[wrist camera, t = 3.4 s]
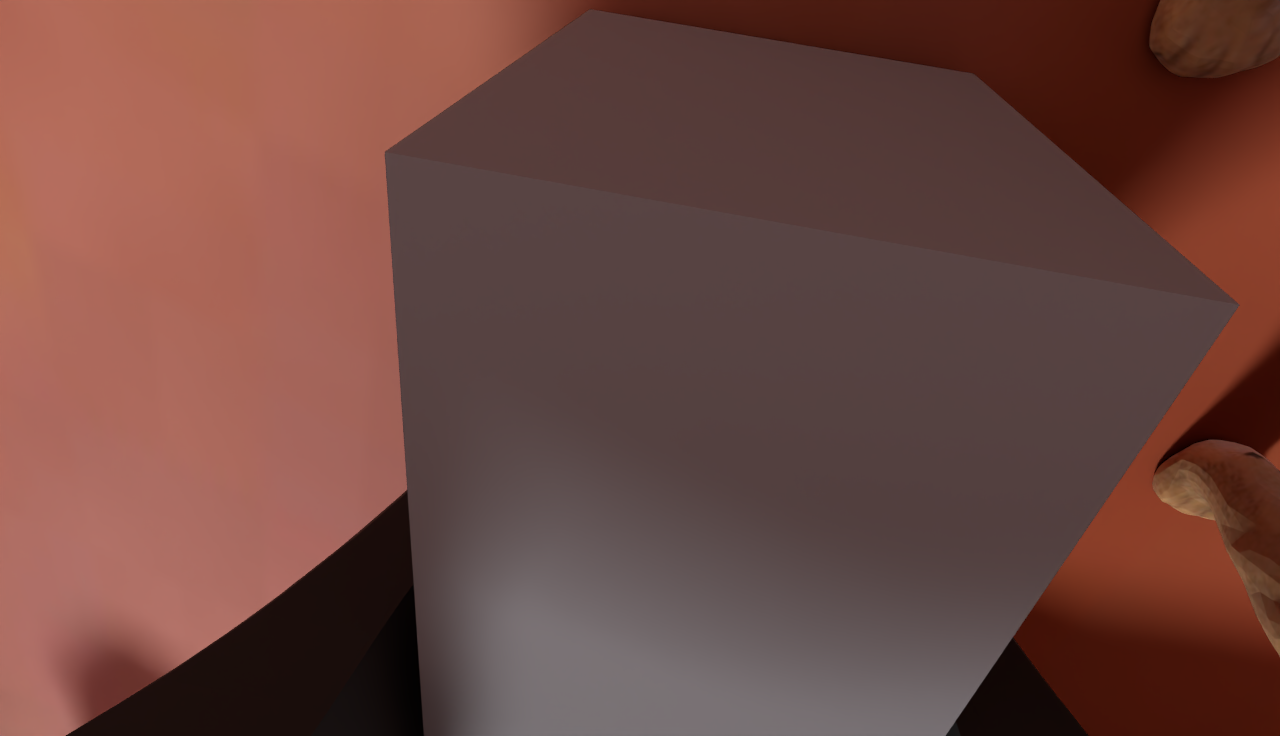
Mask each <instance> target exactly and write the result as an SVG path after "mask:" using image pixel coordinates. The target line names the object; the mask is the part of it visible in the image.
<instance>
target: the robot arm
mask: <svg viewBox="0 0 1280 736" xmlns="http://www.w3.org/2000/svg"><path fill="white" fill-rule="evenodd" d="M66 736H424V730H423V715H422V700H421V685H420V670H419V656H418V641H417V626H416V611H415V596H414V581H413V566H412V551H411V536H410V521H409V506H408V491H407V490H406V491H405V492H404V493H403V494H402V495H401V496H400V497H399V498H398V499H396V500H395V501H394V502H393V503H392V504H391V505H389V506H388V507H387V508H386V509H385V510H384V511H382V512H381V513H380V514H379V515H378V516H377V517H376V518H374V519H373V520H372V521H371V522H370V523H369V524H367V525H366V526H365V527H364V528H363V529H362V530H360V531H359V532H358V533H357V534H356V535H355V536H353V537H352V538H351V539H350V540H349V541H347V542H346V543H345V544H344V545H343V546H341V547H340V548H339V549H338V550H336V551H335V552H334V553H333V554H331V555H330V556H329V557H328V558H326V559H325V560H324V561H322V562H321V563H320V564H319V565H317V566H316V567H315V568H314V569H312V570H311V571H310V572H308V573H307V574H306V575H305V576H303V577H302V578H301V579H300V580H298V581H297V582H296V583H294V584H293V585H292V586H291V587H289V588H288V589H287V590H285V591H284V592H283V593H282V594H280V595H279V596H278V597H276V598H275V599H274V600H272V601H271V602H270V603H268V604H267V605H266V606H264V607H263V608H261V609H260V610H259V611H257V612H256V613H255V614H253V615H252V616H251V617H249V618H248V619H246V620H245V621H244V622H242V623H241V624H239V625H238V626H237V627H235V628H234V629H232V630H231V631H229V632H228V633H227V634H225V635H224V636H222V637H221V638H219V639H218V640H216V641H215V642H213V643H212V644H210V645H209V646H208V647H206V648H205V649H203V650H202V651H200V652H199V653H197V654H196V655H194V656H193V657H191V658H190V659H188V660H187V661H185V662H184V663H182V664H181V665H179V666H178V667H176V668H175V669H173V670H172V671H170V672H169V673H167V674H165V675H164V676H162V677H161V678H159V679H157V680H156V681H154V682H153V683H151V684H149V685H148V686H146V687H145V688H143V689H141V690H140V691H138V692H137V693H135V694H134V695H132V696H130V697H129V698H127V699H126V700H124V701H122V702H121V703H119V704H117V705H116V706H114V707H112V708H111V709H109V710H107V711H106V712H104V713H103V714H101V715H99V716H98V717H96V718H94V719H93V720H91V721H89V722H88V723H86V724H84V725H83V726H81V727H79V728H78V729H76V730H74V731H73V732H71V733H69V734H68V735H66ZM946 736H1088V734H1087V733H1086V732H1085V730H1084V729H1083V728H1082V727H1081V725H1080V724H1079V723H1078V722H1077V720H1076V719H1075V718H1074V717H1073V715H1072V714H1071V713H1070V712H1069V710H1068V709H1067V708H1066V707H1065V705H1064V704H1063V703H1062V702H1061V700H1060V699H1059V698H1058V697H1057V695H1056V694H1055V693H1054V691H1053V690H1052V689H1051V688H1050V686H1049V685H1048V684H1047V682H1046V681H1045V680H1044V678H1043V677H1042V676H1041V674H1040V673H1039V672H1038V670H1037V669H1036V668H1035V666H1034V665H1033V664H1032V663H1031V661H1030V660H1029V659H1028V657H1027V656H1026V654H1025V653H1024V652H1023V650H1022V649H1021V647H1020V646H1019V645H1018V643H1017V642H1016V641H1015V639H1014V638H1012V639H1011V641H1010V642H1009V643H1008V645H1007V646H1006V648H1005V649H1004V651H1003V652H1002V654H1001V655H1000V657H999V658H998V660H997V661H996V663H995V664H994V665H993V667H992V668H991V670H990V671H989V673H988V674H987V676H986V677H985V679H984V680H983V682H982V683H981V684H980V686H979V687H978V689H977V690H976V692H975V693H974V695H973V696H972V698H971V699H970V701H969V702H968V704H967V705H966V706H965V708H964V709H963V711H962V712H961V714H960V715H959V717H958V718H957V720H956V721H955V723H954V724H953V726H952V727H951V728H950V730H949V731H948V733H947V734H946Z"/></svg>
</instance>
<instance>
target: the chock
mask: <svg viewBox="0 0 1280 736" xmlns="http://www.w3.org/2000/svg"><path fill="white" fill-rule="evenodd" d="M385 163H386V178H387V193H388V208H389V223H390V238H391V253H392V268H393V283H394V298H395V313H396V327H397V342H398V357H399V372H400V387H401V402H402V417H403V432H404V447H405V462H406V477H407V491H408V506H409V521H410V536H411V551H412V566H413V581H414V596H415V611H416V626H417V641H418V656H419V670H420V685H421V700H422V715H423V730H424V736H946V734H947V733H948V731H949V730H950V728H951V727H952V726H953V724H954V723H955V721H956V720H957V718H958V717H959V715H960V714H961V712H962V711H963V709H964V708H965V706H966V705H967V704H968V702H969V701H970V699H971V698H972V696H973V695H974V693H975V692H976V690H977V689H978V687H979V686H980V684H981V683H982V682H983V680H984V679H985V677H986V676H987V674H988V673H989V671H990V670H991V668H992V667H993V665H994V664H995V663H996V661H997V660H998V658H999V657H1000V655H1001V654H1002V652H1003V651H1004V649H1005V648H1006V646H1007V645H1008V643H1009V642H1010V641H1011V639H1012V638H1013V636H1014V635H1015V633H1016V632H1017V630H1018V629H1019V627H1020V626H1021V624H1022V623H1023V621H1024V620H1025V619H1026V617H1027V616H1028V614H1029V613H1030V611H1031V610H1032V608H1033V607H1034V605H1035V604H1036V602H1037V601H1038V600H1039V598H1040V597H1041V595H1042V594H1043V592H1044V591H1045V589H1046V588H1047V586H1048V585H1049V583H1050V582H1051V580H1052V579H1053V578H1054V576H1055V575H1056V573H1057V572H1058V570H1059V569H1060V567H1061V566H1062V564H1063V563H1064V561H1065V560H1066V558H1067V557H1068V556H1069V554H1070V553H1071V551H1072V550H1073V548H1074V547H1075V545H1076V544H1077V542H1078V541H1079V539H1080V538H1081V537H1082V535H1083V534H1084V532H1085V531H1086V529H1087V528H1088V526H1089V525H1090V523H1091V522H1092V520H1093V519H1094V517H1095V516H1096V515H1097V513H1098V512H1099V510H1100V509H1101V507H1102V506H1103V504H1104V503H1105V501H1106V500H1107V498H1108V497H1109V495H1110V494H1111V493H1112V491H1113V490H1114V488H1115V487H1116V485H1117V484H1118V482H1119V481H1120V479H1121V478H1122V476H1123V475H1124V474H1125V472H1126V471H1127V469H1128V468H1129V466H1130V465H1131V463H1132V462H1133V460H1134V459H1135V457H1136V456H1137V454H1138V453H1139V452H1140V450H1141V449H1142V447H1143V446H1144V444H1145V443H1146V441H1147V440H1148V438H1149V437H1150V435H1151V434H1152V432H1153V431H1154V430H1155V428H1156V427H1157V425H1158V424H1159V422H1160V421H1161V419H1162V418H1163V416H1164V415H1165V413H1166V412H1167V411H1168V409H1169V408H1170V406H1171V405H1172V403H1173V402H1174V400H1175V399H1176V397H1177V396H1178V394H1179V393H1180V391H1181V390H1182V389H1183V387H1184V386H1185V384H1186V383H1187V381H1188V380H1189V378H1190V377H1191V375H1192V374H1193V372H1194V371H1195V369H1196V368H1197V367H1198V365H1199V364H1200V362H1201V361H1202V359H1203V358H1204V356H1205V355H1206V353H1207V352H1208V350H1209V349H1210V348H1211V346H1212V345H1213V343H1214V342H1215V340H1216V339H1217V337H1218V336H1219V334H1220V333H1221V331H1222V330H1223V328H1224V327H1225V326H1226V324H1227V323H1228V321H1229V320H1230V318H1231V317H1232V315H1233V314H1234V312H1235V311H1236V309H1237V308H1238V306H1239V304H1238V303H1237V302H1236V301H1234V300H1233V299H1232V298H1231V297H1230V296H1229V295H1228V294H1226V293H1225V292H1224V291H1223V290H1222V289H1221V288H1220V287H1218V286H1217V285H1216V284H1215V283H1214V282H1213V281H1212V280H1210V279H1209V278H1208V277H1207V276H1206V275H1205V274H1203V273H1202V272H1201V271H1200V270H1199V269H1198V268H1197V267H1195V266H1194V265H1193V264H1192V263H1191V262H1190V261H1189V260H1187V259H1186V258H1185V257H1184V256H1183V255H1182V254H1180V253H1179V252H1178V251H1177V250H1176V249H1175V248H1174V247H1172V246H1171V245H1170V244H1169V243H1168V242H1167V241H1166V240H1164V239H1163V238H1162V237H1161V236H1160V235H1159V234H1157V233H1156V232H1155V231H1154V230H1153V229H1152V228H1151V227H1149V226H1148V225H1147V224H1146V223H1145V222H1144V221H1143V220H1141V219H1140V218H1139V217H1138V216H1137V215H1136V214H1134V213H1133V212H1132V211H1131V210H1130V209H1129V208H1128V207H1126V206H1125V205H1124V204H1123V203H1122V202H1121V201H1120V200H1118V199H1117V198H1116V197H1115V196H1114V195H1113V194H1112V193H1110V192H1109V191H1108V190H1107V189H1106V188H1105V187H1103V186H1102V185H1101V184H1100V183H1099V182H1098V181H1097V180H1095V179H1094V178H1093V177H1092V176H1091V175H1090V174H1089V173H1087V172H1086V171H1085V170H1084V169H1083V168H1082V167H1080V166H1079V165H1078V164H1077V163H1076V162H1075V161H1074V160H1072V159H1071V158H1070V157H1069V156H1068V155H1067V154H1066V153H1064V152H1063V151H1062V150H1061V149H1060V148H1059V147H1057V146H1056V145H1055V144H1054V143H1053V142H1052V141H1051V140H1049V139H1048V138H1047V137H1046V136H1045V135H1044V134H1043V133H1041V132H1040V131H1039V130H1038V129H1037V128H1036V127H1034V126H1033V125H1032V124H1031V123H1030V122H1029V121H1028V120H1026V119H1025V118H1024V117H1023V116H1022V115H1021V114H1020V113H1018V112H1017V111H1016V110H1015V109H1014V108H1013V107H1012V106H1010V105H1009V104H1008V103H1007V102H1006V101H1005V100H1003V99H1002V98H1001V97H1000V96H999V95H998V94H997V93H995V92H994V91H993V90H992V89H991V88H990V87H989V86H987V85H986V84H985V83H984V82H983V81H982V80H980V79H979V78H978V77H977V76H976V75H975V74H973V73H967V72H961V71H955V70H949V69H943V68H937V67H931V66H926V65H920V64H914V63H908V62H902V61H896V60H890V59H884V58H878V57H872V56H866V55H860V54H854V53H848V52H842V51H836V50H830V49H824V48H818V47H813V46H807V45H801V44H795V43H789V42H783V41H777V40H771V39H765V38H759V37H753V36H747V35H741V34H735V33H729V32H723V31H717V30H711V29H705V28H700V27H694V26H688V25H682V24H676V23H670V22H664V21H658V20H652V19H646V18H640V17H634V16H628V15H622V14H616V13H610V12H604V11H598V10H592V9H590V10H588V11H587V12H585V13H584V14H582V15H581V16H580V17H578V18H577V19H575V20H574V21H572V22H571V23H570V24H568V25H567V26H565V27H564V28H562V29H561V30H559V31H558V32H557V33H555V34H554V35H552V36H551V37H549V38H548V39H546V40H545V41H544V42H542V43H541V44H539V45H538V46H536V47H535V48H534V49H532V50H531V51H529V52H528V53H526V54H525V55H523V56H522V57H521V58H519V59H518V60H516V61H515V62H513V63H512V64H511V65H509V66H508V67H506V68H505V69H503V70H502V71H500V72H499V73H498V74H496V75H495V76H493V77H492V78H490V79H489V80H488V81H486V82H485V83H483V84H482V85H480V86H479V87H477V88H476V89H475V90H473V91H472V92H470V93H469V94H467V95H466V96H465V97H463V98H462V99H460V100H459V101H457V102H456V103H454V104H453V105H452V106H450V107H449V108H447V109H446V110H444V111H443V112H442V113H440V114H439V115H437V116H436V117H434V118H433V119H431V120H430V121H429V122H427V123H426V124H424V125H423V126H421V127H420V128H419V129H417V130H416V131H414V132H413V133H411V134H410V135H408V136H407V137H406V138H404V139H403V140H401V141H400V142H398V143H397V144H395V145H394V146H393V147H391V148H390V149H388V150H387V151H385Z"/></svg>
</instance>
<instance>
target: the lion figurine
mask: <svg viewBox="0 0 1280 736" xmlns="http://www.w3.org/2000/svg"><path fill="white" fill-rule="evenodd" d="M1149 47H1150V49H1151V50H1152V52H1153V53H1154V55H1155V56H1156V58H1157V59H1158V60H1159V62H1160V63H1161V64H1162V65H1163V66H1164V67H1165V68H1166V69H1167V70H1169V71H1170V72H1171V73H1173V74H1175V75H1177V76H1179V77H1197V78H1218V77H1222V76H1226V75H1230V74H1234V73H1237V72H1240V71H1244V70H1248V69H1252V68H1256V67H1259V66H1262V65H1264V64H1266V63H1268V62H1270V61H1272V60H1274V59H1276V58H1277V57H1278V56H1279V55H1280V0H1161V1H1160V2H1159V5H1158V8H1157V10H1156V13H1155V15H1154V18H1153V20H1152V23H1151V30H1150V39H1149ZM1152 484H1153V489H1154V491H1155V493H1156V494H1157V495H1158V497H1159V498H1160V499H1161V501H1163V502H1165V503H1167V504H1169V505H1170V506H1172V507H1173V508H1174V509H1176V510H1178V511H1180V512H1182V513H1184V514H1188V515H1195V516H1200V517H1202V518H1206V519H1211V520H1216V522H1217V525H1218V528H1219V531H1220V533H1221V536H1222V539H1223V541H1224V544H1225V547H1226V550H1227V552H1228V554H1229V556H1230V558H1231V560H1232V562H1233V563H1234V565H1235V567H1236V569H1237V571H1238V573H1239V575H1240V577H1241V578H1242V580H1243V582H1244V585H1245V588H1246V590H1247V593H1248V595H1249V598H1250V601H1251V603H1252V606H1253V609H1254V611H1255V614H1256V616H1257V618H1258V620H1259V622H1260V624H1261V625H1262V627H1263V629H1264V631H1265V633H1266V635H1267V637H1268V639H1269V640H1270V642H1271V644H1272V645H1273V647H1274V648H1275V650H1276V651H1277V653H1278V654H1279V656H1280V471H1279V470H1278V469H1277V468H1276V467H1275V466H1274V465H1273V464H1272V463H1271V462H1270V461H1269V460H1268V459H1267V458H1266V457H1264V456H1263V455H1261V454H1260V453H1258V452H1257V451H1255V450H1254V449H1252V448H1251V447H1248V446H1245V445H1242V444H1238V443H1235V442H1229V441H1223V440H1206V441H1202V442H1198V443H1194V444H1192V445H1191V446H1189V447H1187V448H1185V449H1184V450H1182V451H1180V452H1179V453H1177V454H1175V455H1173V456H1172V457H1170V458H1169V459H1168V460H1166V461H1165V462H1164V463H1162V464H1161V465H1160V466H1159V468H1158V469H1157V470H1156V472H1155V474H1154V477H1153V483H1152Z"/></svg>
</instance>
